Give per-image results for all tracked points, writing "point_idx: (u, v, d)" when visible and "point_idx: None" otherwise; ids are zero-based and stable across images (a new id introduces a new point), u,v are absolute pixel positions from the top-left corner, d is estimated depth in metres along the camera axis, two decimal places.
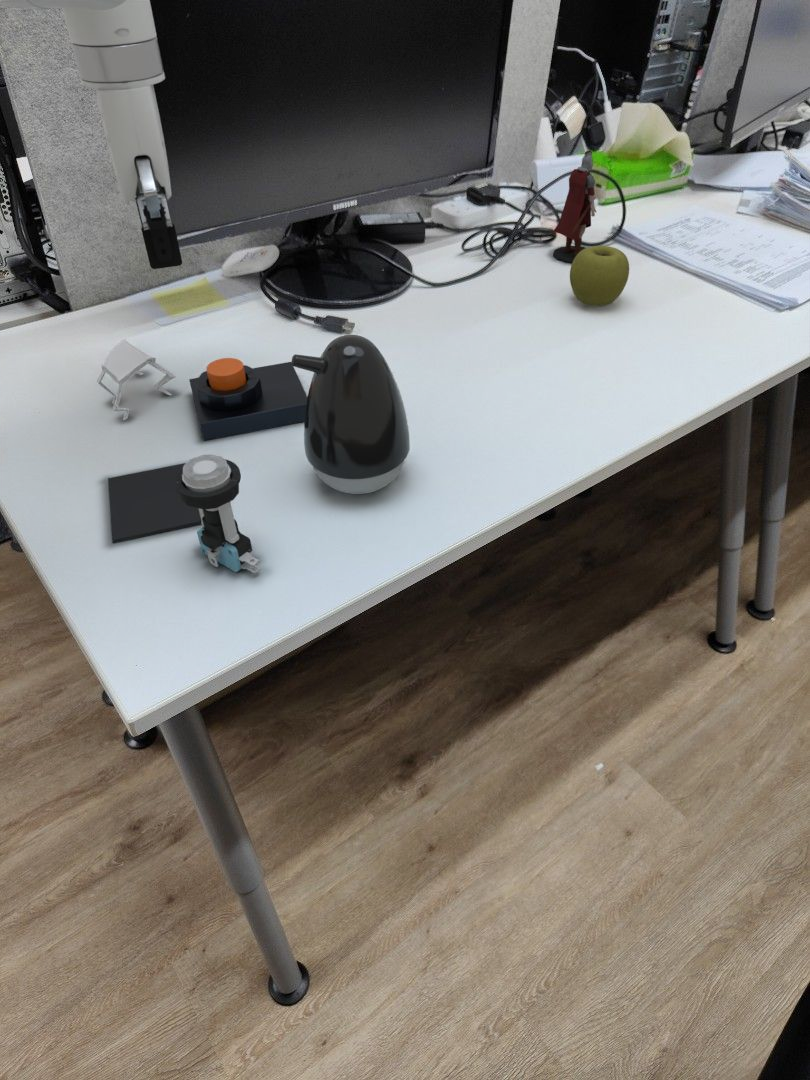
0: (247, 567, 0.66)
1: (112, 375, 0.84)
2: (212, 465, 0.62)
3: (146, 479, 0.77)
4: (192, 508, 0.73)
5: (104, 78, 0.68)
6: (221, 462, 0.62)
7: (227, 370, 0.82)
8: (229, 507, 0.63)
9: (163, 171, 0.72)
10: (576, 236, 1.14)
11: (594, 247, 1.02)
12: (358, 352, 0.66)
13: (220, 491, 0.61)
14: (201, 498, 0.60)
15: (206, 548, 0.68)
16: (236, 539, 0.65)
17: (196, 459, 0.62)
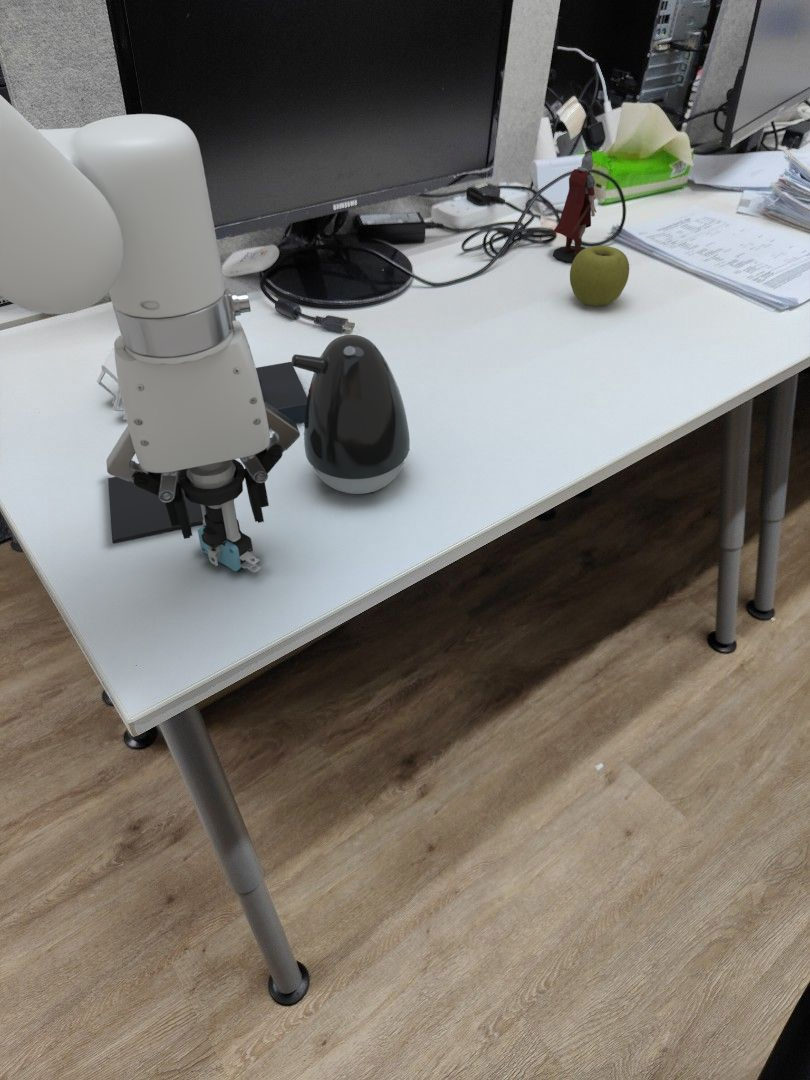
0: (248, 566, 0.66)
1: (112, 375, 0.84)
2: None
3: None
4: (192, 508, 0.73)
5: None
6: None
7: None
8: (232, 505, 0.63)
9: (133, 445, 0.56)
10: (576, 236, 1.14)
11: (594, 247, 1.02)
12: (358, 352, 0.66)
13: (224, 488, 0.61)
14: (205, 494, 0.60)
15: (206, 547, 0.68)
16: (237, 538, 0.65)
17: None
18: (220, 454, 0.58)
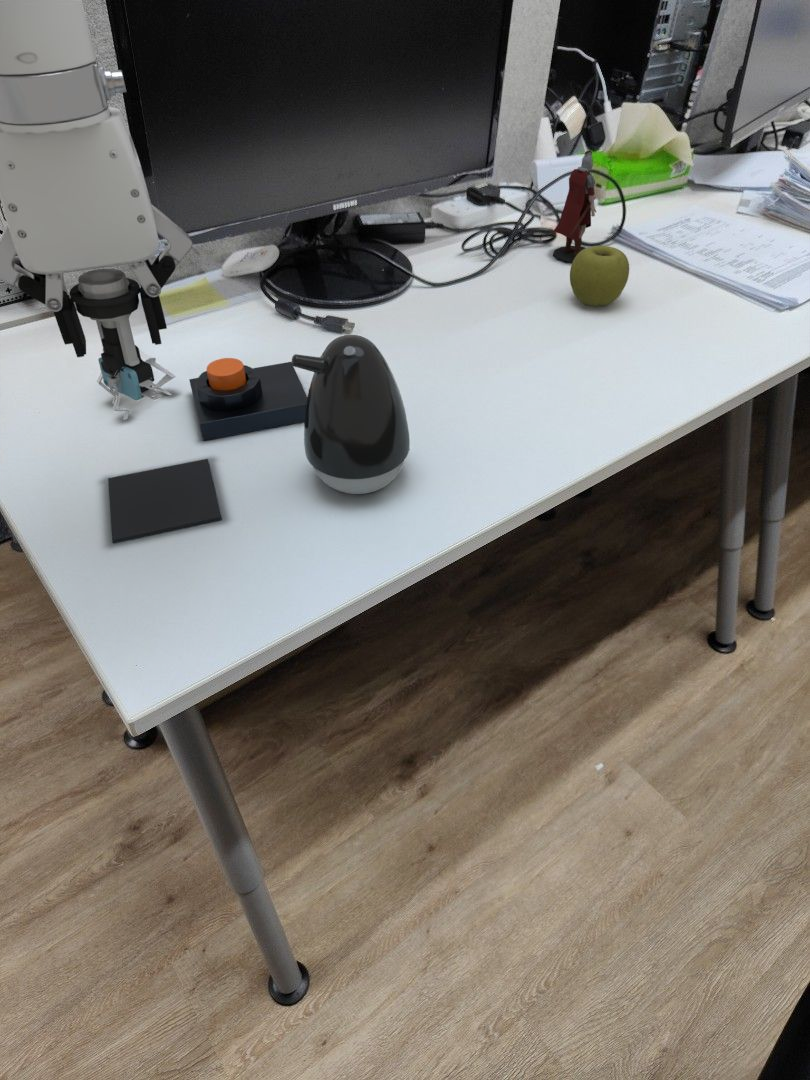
0: (148, 395, 0.65)
1: None
2: (109, 275, 0.60)
3: (146, 479, 0.77)
4: (192, 508, 0.73)
5: None
6: (119, 274, 0.61)
7: (227, 370, 0.82)
8: (127, 324, 0.62)
9: (11, 237, 0.54)
10: (576, 236, 1.14)
11: (594, 247, 1.02)
12: (358, 352, 0.66)
13: (115, 299, 0.59)
14: (95, 304, 0.59)
15: (108, 378, 0.66)
16: (136, 362, 0.64)
17: (94, 271, 0.61)
18: (105, 255, 0.57)
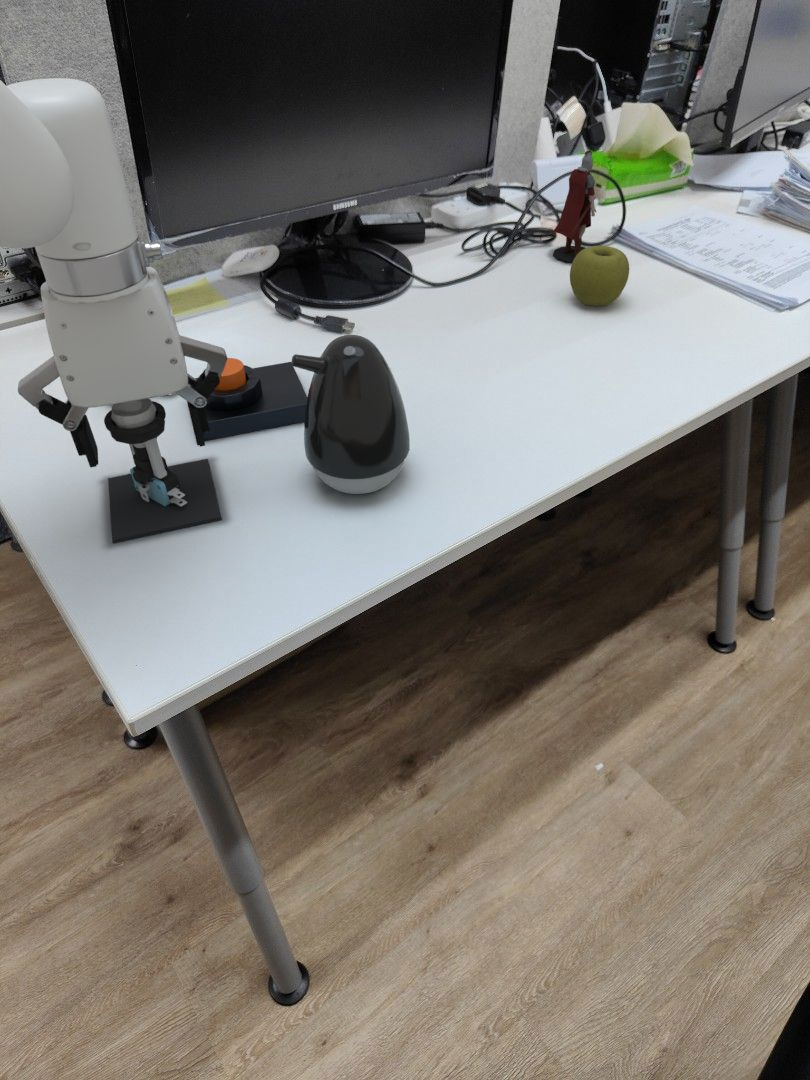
0: (175, 501, 0.73)
1: None
2: (139, 404, 0.68)
3: None
4: (192, 508, 0.73)
5: None
6: (147, 402, 0.68)
7: (227, 370, 0.82)
8: (155, 444, 0.70)
9: (61, 380, 0.62)
10: (576, 236, 1.14)
11: (594, 247, 1.02)
12: (358, 352, 0.66)
13: (144, 427, 0.67)
14: (127, 433, 0.67)
15: (139, 485, 0.74)
16: (164, 475, 0.72)
17: None
18: (141, 391, 0.65)
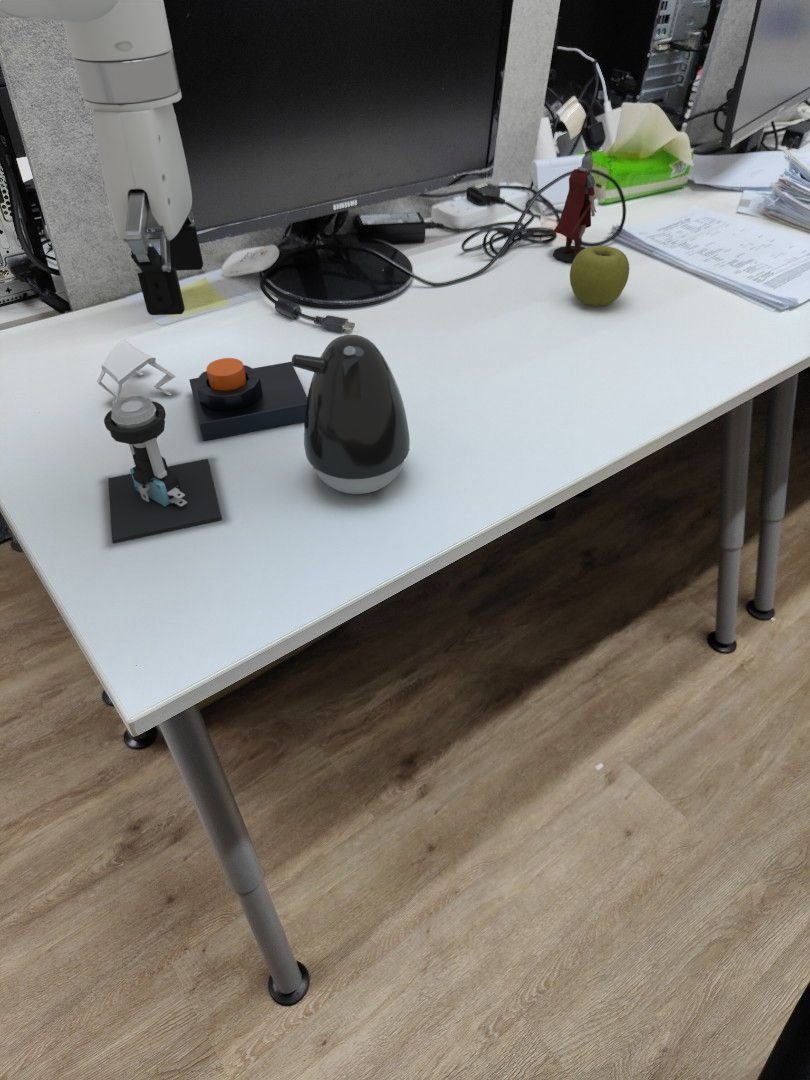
0: (175, 501, 0.73)
1: (112, 375, 0.84)
2: (138, 404, 0.68)
3: None
4: (192, 508, 0.73)
5: (99, 98, 0.58)
6: (147, 402, 0.68)
7: (227, 370, 0.82)
8: (155, 444, 0.70)
9: (162, 209, 0.62)
10: (576, 236, 1.14)
11: (594, 247, 1.02)
12: (358, 352, 0.66)
13: (144, 427, 0.67)
14: (127, 433, 0.67)
15: (139, 485, 0.74)
16: (164, 475, 0.72)
17: (125, 399, 0.69)
18: (186, 208, 0.67)
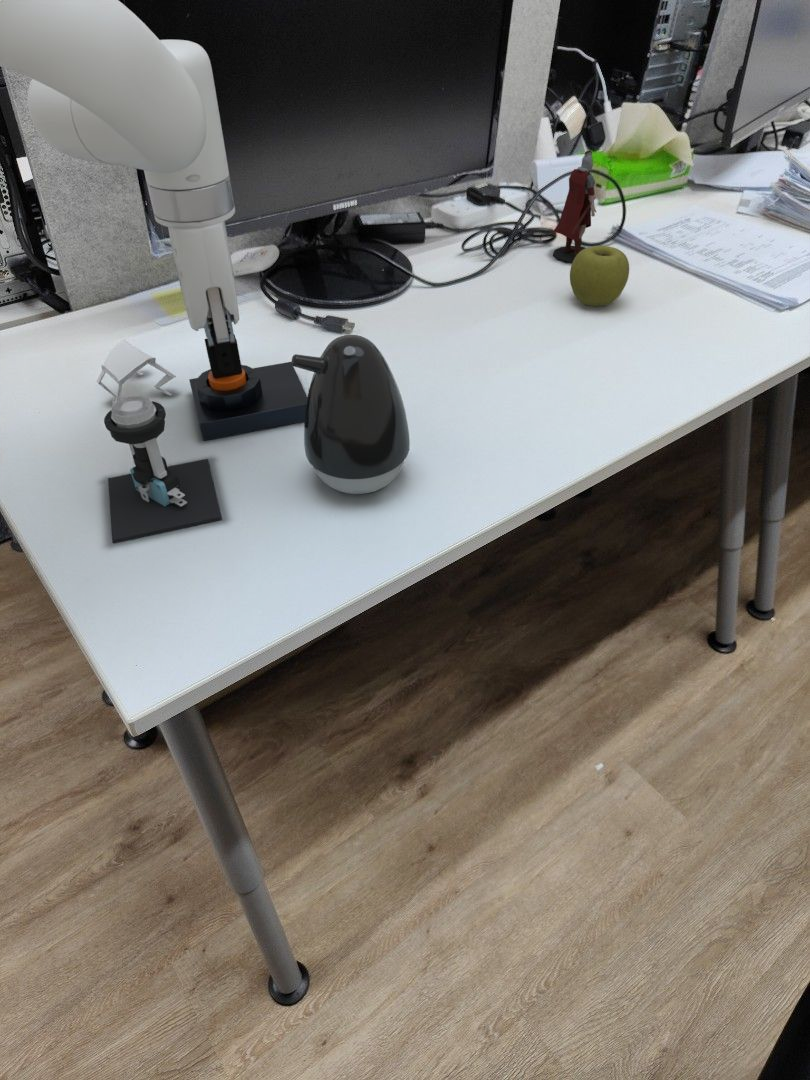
0: (175, 501, 0.73)
1: (112, 375, 0.84)
2: (138, 404, 0.68)
3: None
4: (192, 508, 0.73)
5: (179, 218, 0.69)
6: (147, 402, 0.68)
7: (228, 377, 0.83)
8: (155, 444, 0.70)
9: (233, 300, 0.74)
10: (576, 236, 1.14)
11: (594, 247, 1.02)
12: (358, 352, 0.66)
13: (144, 427, 0.67)
14: (127, 433, 0.67)
15: (139, 485, 0.74)
16: (164, 475, 0.72)
17: (125, 399, 0.69)
18: None
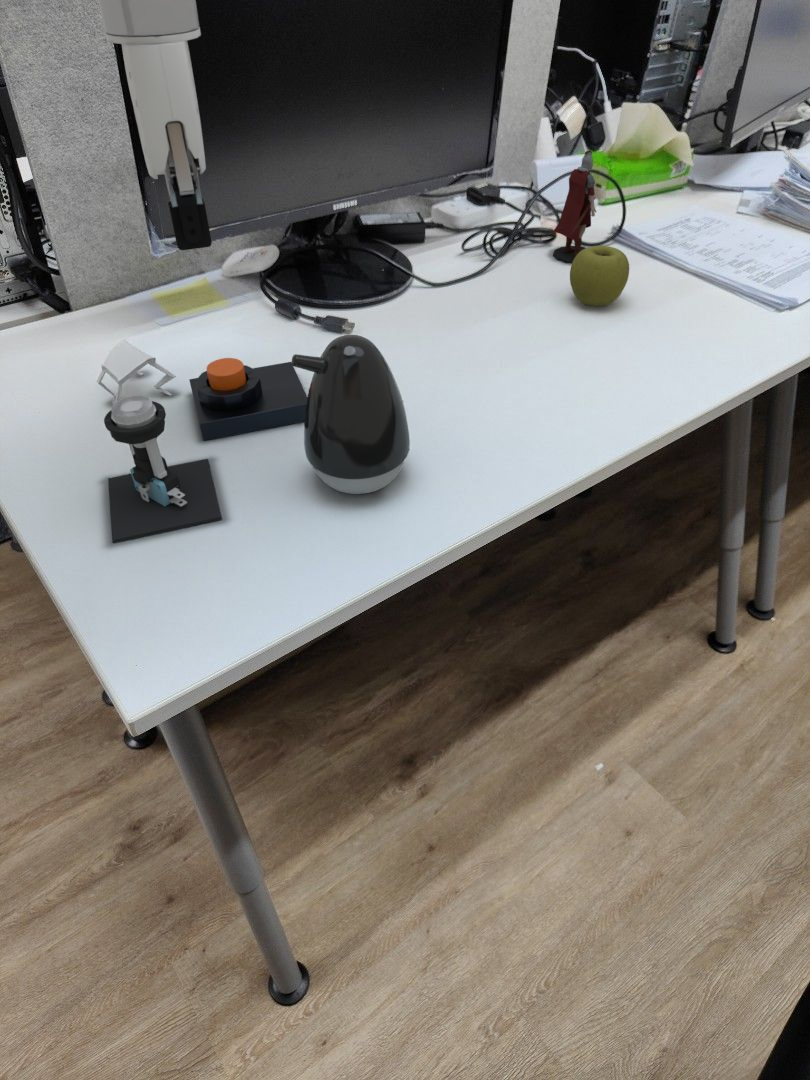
0: (175, 501, 0.73)
1: (112, 375, 0.84)
2: (138, 404, 0.68)
3: None
4: (192, 508, 0.73)
5: (133, 31, 0.59)
6: (147, 402, 0.68)
7: (227, 370, 0.82)
8: (155, 444, 0.70)
9: (197, 140, 0.64)
10: (576, 236, 1.14)
11: (594, 247, 1.02)
12: (358, 352, 0.66)
13: (144, 427, 0.67)
14: (127, 433, 0.67)
15: (139, 485, 0.74)
16: (164, 475, 0.72)
17: (125, 399, 0.69)
18: None
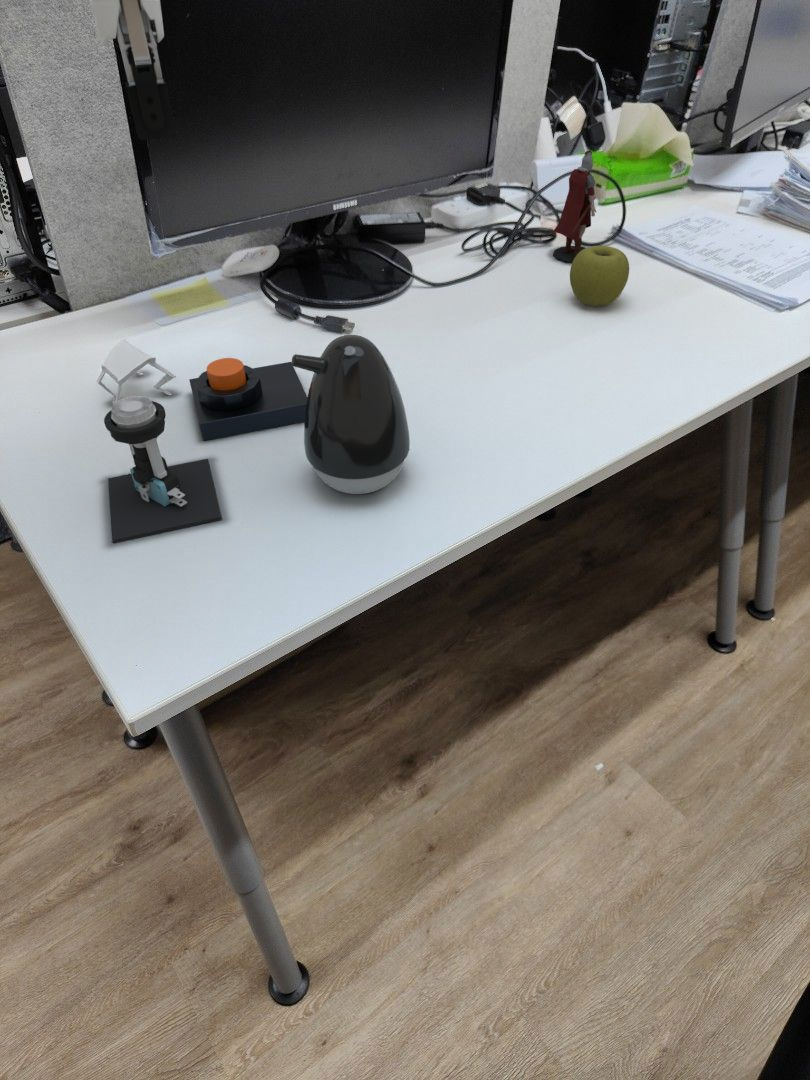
0: (175, 501, 0.73)
1: (112, 375, 0.84)
2: (138, 404, 0.68)
3: None
4: (192, 508, 0.73)
5: None
6: (147, 402, 0.68)
7: (227, 370, 0.82)
8: (155, 444, 0.70)
9: None
10: (576, 236, 1.14)
11: (594, 247, 1.02)
12: (358, 352, 0.66)
13: (144, 427, 0.67)
14: (127, 433, 0.67)
15: (139, 485, 0.74)
16: (164, 475, 0.72)
17: (124, 399, 0.69)
18: None
